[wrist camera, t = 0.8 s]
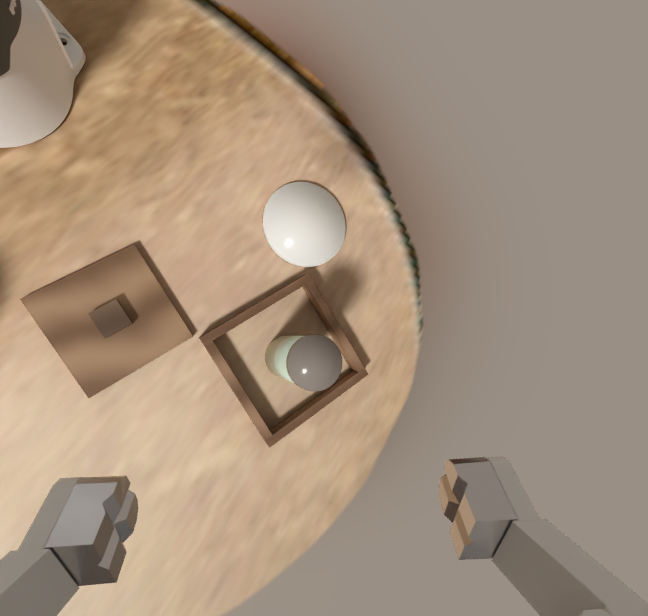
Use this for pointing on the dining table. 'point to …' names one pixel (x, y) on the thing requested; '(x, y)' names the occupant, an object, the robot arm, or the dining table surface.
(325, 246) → the coaster
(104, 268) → the box lid
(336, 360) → the sage jar
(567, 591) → the robot arm
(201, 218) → the dining table surface
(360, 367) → the walnut box
